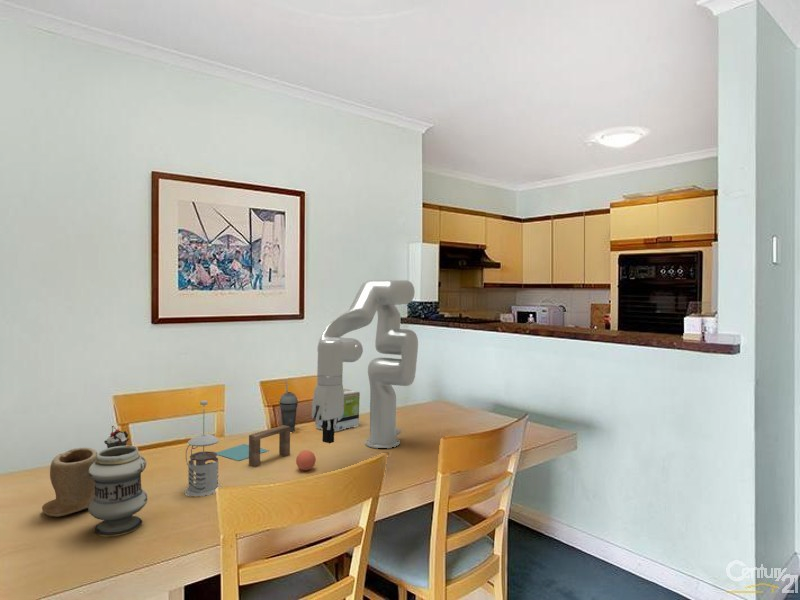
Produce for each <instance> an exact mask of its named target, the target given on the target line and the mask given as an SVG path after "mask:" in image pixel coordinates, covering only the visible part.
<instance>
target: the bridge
mask: <svg viewBox="0 0 800 600" xmlns="http://www.w3.org/2000/svg"><path fill="white" fill-rule="evenodd" d="M275 435H279V439H278V441H279V443H278V444H279V445H278V446H279V449H278V455H279V456H282V457H288V456H290V455H291V433H290V426H285V425H283V426H282V425H279V426H276V427H273V428H270V429H267V430H263V431H259V432H256V433H251V434H249V435H248V445H249V458H248V466H249V467H253V468H257V467H261V454H260V448H261V440H262V439H265V438H268V437H272V436H275Z"/></svg>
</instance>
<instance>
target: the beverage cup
mask: <svg viewBox="0 0 800 600" xmlns="http://www.w3.org/2000/svg"><path fill="white" fill-rule="evenodd" d="M285 389H286V392H285V393H283V394H282V395H281V396H280V398H279V407H280V415H281V418H280V419H281V426H283V425H285V426H290V432H292V433H294V432H295V428H296V419H297V408H298V404H299V401H298V397H297V395H296V394H295V393H293V392H289V389H288V381H287V380H285ZM293 431H294V432H293Z"/></svg>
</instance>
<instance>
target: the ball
mask: <svg viewBox="0 0 800 600" xmlns="http://www.w3.org/2000/svg"><path fill="white" fill-rule="evenodd" d="M316 458H317V457H316V455H315V453H314V452H313V451H312V450H307V449H305V450H302V451H300V452H299V453H298V454H297V456H296V459H295V462H296V466H297V468H299V469H300V470H302V471H309V470H312V468H313V467H314V466H315V464H316V463H317V462H316V461H317V460H316Z"/></svg>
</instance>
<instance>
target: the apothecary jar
mask: <svg viewBox="0 0 800 600" xmlns="http://www.w3.org/2000/svg"><path fill="white" fill-rule="evenodd" d="M146 467H147V460H146V459H145V458H144V456H142V455H141V454H140V452H139V448H138V447H137V446H135V445H126V446H117V447H111V448H107V447H106V448H104V449H101V450H100V451H97V458H96V461H95V462H94V463H93V464H92V465H91V466H90V468H89V471H88V473H89V476H90V477H91V478H92V479H93V480H94V481H95V496H94V498H93V499H92V500H91V502H90V504H89V507H88V508H87V509H88V513H89V514H90V515H91V516H92V518H94V519H97V520H101V522H99V523H97V525H95V527H94V529H93V533H94V534H97V536H99V537H104V538H105V537H106V538H109V537H111V538H112V537H118V536H123V535H126V534H129V533H131V532H134V531H136V530H137V529H139V528H140V527H141V526H142V523H143V520H142V519H141V518H140V516H137V515H136V514H137V513H138V512H140V511H142V509H143V508H144V507H145V506H146V505H147V502H148V494H147V492H146V491H145V490H144V489H143V488H142V474H141V473H143V472H144V471H145V470H146Z"/></svg>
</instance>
